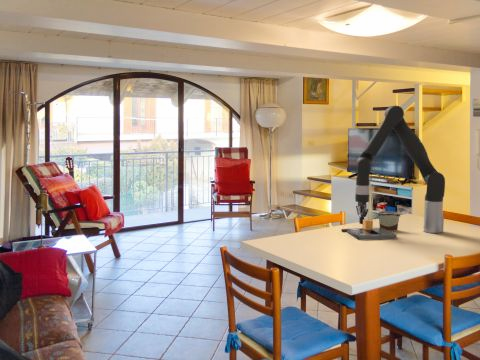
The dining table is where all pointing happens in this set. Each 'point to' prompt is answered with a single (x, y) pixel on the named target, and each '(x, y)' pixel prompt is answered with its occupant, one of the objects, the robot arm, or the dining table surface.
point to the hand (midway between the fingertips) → (361, 223)
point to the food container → (389, 220)
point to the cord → (352, 234)
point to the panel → (373, 234)
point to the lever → (367, 225)
